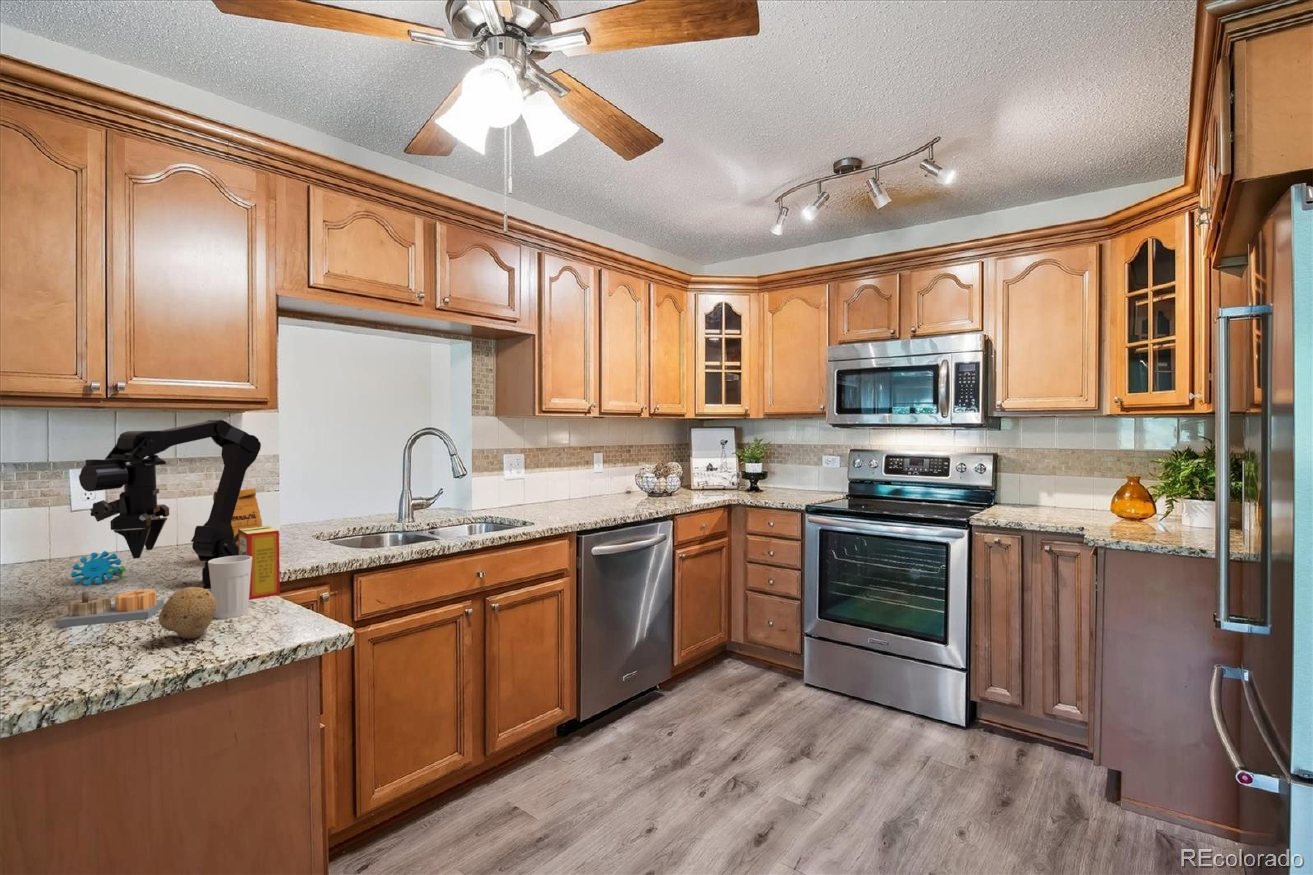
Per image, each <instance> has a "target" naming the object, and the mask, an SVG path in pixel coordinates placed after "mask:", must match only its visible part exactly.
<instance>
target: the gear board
mask: <svg viewBox="0 0 1313 875" xmlns="http://www.w3.org/2000/svg"><path fill="white" fill-rule="evenodd" d="M156 603H157V605H155V606H151V607H149V608H148V609H140V610H134V611H130V612H128V611H120V612H118V611H116V609H115V603H111V609H110V610H106V611H103V612H102V613H99V614H90V615H86V616H78V615H77V616H69V615H68V613H66V615H64V616H62V617H61V618H59V619H57V621H56V622H57V628H67V627H77V626H78V625H79V626H86V625H87V624H88V625H98V624H97V623H99V624H109V623H118V622H128V621H137V620H148V618H149V619H150V618H151V617H152V616H153V615H155V614H156V613H157V612H158V611H159V610H160V609H161V610H162V608H163V607H164V605H165V600H164V599H156ZM79 626H78V627H79Z"/></svg>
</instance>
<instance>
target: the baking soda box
mask: <svg viewBox="0 0 1313 875" xmlns="http://www.w3.org/2000/svg"><path fill="white" fill-rule="evenodd" d="M238 547H239V556H251V557H252V566H251V577H250V591H249V601H251V600H258V599H264V598H269V597H274V596H275V597H276V596H280V595H281V592H280V591H281V585H280V584H281V581H280V580H281V578H280V575H281V574H280V571H281V570H280V530H278V529H276V528H274V527H272V526H270V525H266V526H263V525H262V527H253V528H244V529H238Z"/></svg>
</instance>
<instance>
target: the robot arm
mask: <svg viewBox="0 0 1313 875" xmlns="http://www.w3.org/2000/svg"><path fill="white" fill-rule="evenodd" d="M208 438H211V440H212V441H213V443H214V444H216V445H218V447H221V454H220V455H221V459H222V462H223V469H222V473H221V476H220V480H219V483H218V487H217V490H216V491H217V493H216V496H215V500H214V501H213V503H212V508H211V511H210V512H209V513H210V514H209V517H208V520H207V521H206V522H205V523H204V524H202V525H196V526H195V528H194V533H193V537H192V539H191V540H190V542H191V543H192V545H191V546H192V550H193V551H194V553H195V554H196V556H197V557H198V559H199V561H200V562H204V567H202V570H201V571H202V572H201V573H202V574H201V575H202V576H201V577H202V578H201V579H202V580H201V581H202V582H201V583H202V585H203V586H202V588H204V589H207V588H208V589H209V588H210V589H211V582H210V574H209V566H208V561H210V560H212V559H216V558H221V557H228V556H239V548H238V547H237V546H236V545H234V544H233V541H234V532H233V528H232V525H231V521H232V518H233V514H234V511H235V507H236V504H237V500H238V497H239V493H240V490H242V485H243V483H244V479H245V475H246V473H247V470H248V468H249V467H251V466H252V464H253V463H254V462H255V461H256V460H257V457H258V456H259V453H260V451H261V448H262V444H261V442H260V440H259V438H258V437H257V436H255V435H253V434H249V433H248V432H246V431H244V430H242V429H240V428H238V427H235V426H233V425H232V424H230V423H228V421H226V420H223V419H208V420H205V421H202V422H198V423H197V422H196V423H193V424H186V425H182V426H176V427H171V428H168V429H167V428H166V429H161V430H129V431H128V430H127V431H124V432H122V433H120V434H119V437H118V438H117V440H116V444H115V445H114V447H113V448H112V449H111V450H110V452H109V453H108V454H107V455H106V456H105V458H104V459H98V458H97V459H91V458H89V459H86V460H85V465H84V466H83V467H82V468H81V470H80V474H79V475H78V480H79V484H80V487H81V488H82V489H83V490H84V491H86V492H96V491H97V492H98V491H108V490H117V489H121V488H122V487H123V491H122V492H120V493H119V499H116V500H112V501H110V502H107V501H106V500H104V499H103V500H100V501H97V502H93V503H92V508H90V513H89V514H90V516H91V517H94V518H95V520H96V522H101V521H103V520H106V519H108V518H111V517H112V516H115V515H116V516H115V517H113V518H112V519H111V520H110V523H109V525H110V530H111V531H113V532H114V533H115V534H118V535H120V536H122V537H123V538H124V540H125V542H126V545H127V546H128V548H129V552H130V553H131V556H132V558H133V559H140V558H141V556H142V553H143V550H144V548H145V550H146V551H151V550H153V549H154V547H155V545H156V543H157V540H158V538H159V536H160V535H161V532H162V529H163V528H164V526H165V523H166V522H167V520H168V516H170V507H169V506H167V505H166V504H158V496H157V495H158V494H160V488H157V469H156V466H162V465H163V466H164V465H166V463H167V462H166V461H165V460H164V459H162V458H161V457H159V455H157V454H160V453H163V452H164V451H166V450H168V449H169V448H171V447H173V446H176V445H182V444H186V443H189V442H195V441H199V440H204V439H208ZM118 514H119V515H118Z"/></svg>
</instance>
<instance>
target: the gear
mask: <svg viewBox="0 0 1313 875" xmlns="http://www.w3.org/2000/svg"><path fill="white" fill-rule="evenodd" d="M79 561H80V562H81V563H82V564H83V566H80V564H78V563H75V564H73V565H72V566H71V567H72V569H73V570H74V571H72V572H70V577H71V578H74V581H75V582H76V584H77V585H78V584H80V583H82V582H83V585H84V586H87V587H89V586H91V585H92V582H93V581H94V583H95V584H96V585H102V584H103V581H104V580H105V579H106V580H111V579H113V578H114V577H118V578H119V579H120V580H124V576H123V572H126V571H127V568H126V567H125V565H121V564H122V560H121V559H119V558H118V556H117V554H116V553H112V554H111V555H110V553H109V551H106V550H103V551H102V552H101V555H100V556H99V554H98V552H91V553H90V559H89V560H88V558H87V556H83V557H81V558H79ZM113 565H116V566H113ZM120 565H121V566H120ZM77 570H78V571H79V572H77Z"/></svg>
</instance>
